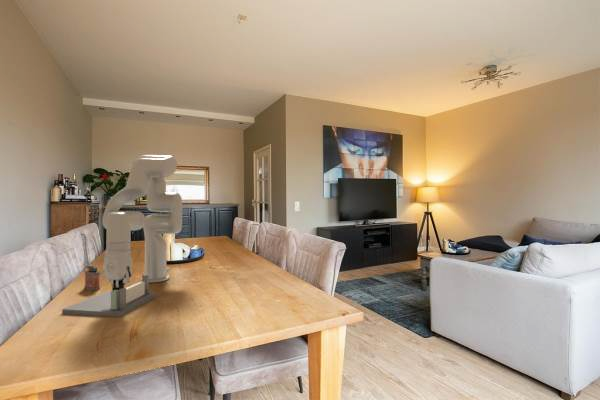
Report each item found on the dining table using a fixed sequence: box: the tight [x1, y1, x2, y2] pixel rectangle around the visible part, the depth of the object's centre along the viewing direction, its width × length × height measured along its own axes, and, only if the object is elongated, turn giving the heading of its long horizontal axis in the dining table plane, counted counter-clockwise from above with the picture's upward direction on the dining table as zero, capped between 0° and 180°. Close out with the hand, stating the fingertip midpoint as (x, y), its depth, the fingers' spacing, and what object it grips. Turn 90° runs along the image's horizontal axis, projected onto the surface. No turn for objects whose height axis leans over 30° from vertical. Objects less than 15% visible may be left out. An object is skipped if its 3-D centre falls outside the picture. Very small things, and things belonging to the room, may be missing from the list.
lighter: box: [84, 264, 101, 292], centre depth 131 cm, size 8×3×10 cm, turn 65°
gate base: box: [61, 274, 157, 318], centre depth 112 cm, size 21×21×9 cm
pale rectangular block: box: [110, 280, 145, 309], centre depth 110 cm, size 16×2×6 cm, turn 174°
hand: (118, 297), depth 109 cm, fingers closed
